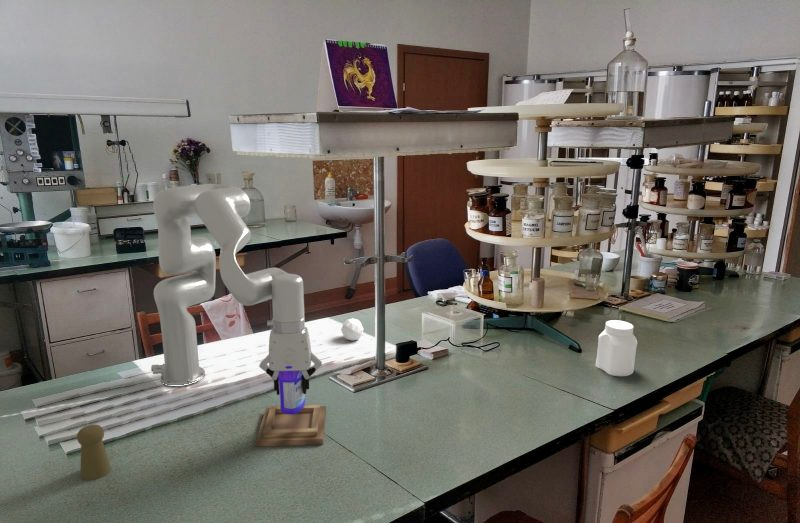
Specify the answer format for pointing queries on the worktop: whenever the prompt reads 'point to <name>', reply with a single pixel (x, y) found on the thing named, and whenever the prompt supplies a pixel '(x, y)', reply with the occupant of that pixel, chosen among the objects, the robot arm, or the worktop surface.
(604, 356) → the jar
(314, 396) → the worktop surface
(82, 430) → the tan game pawn
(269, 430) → the walnut base
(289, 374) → the bottle
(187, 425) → the worktop surface
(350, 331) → the geometric ball
